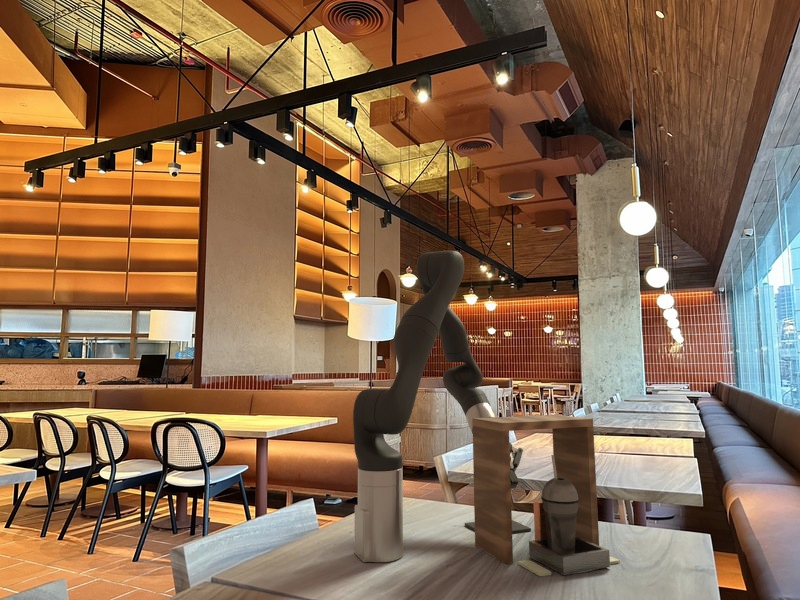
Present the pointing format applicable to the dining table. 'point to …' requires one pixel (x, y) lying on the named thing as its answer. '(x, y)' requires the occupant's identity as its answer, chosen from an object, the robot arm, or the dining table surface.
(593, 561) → the shallow grey tray
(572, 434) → the tunnel
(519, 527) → the dark grey slab
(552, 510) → the beverage cup
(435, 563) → the dining table surface
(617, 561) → the pair of cream slabs
